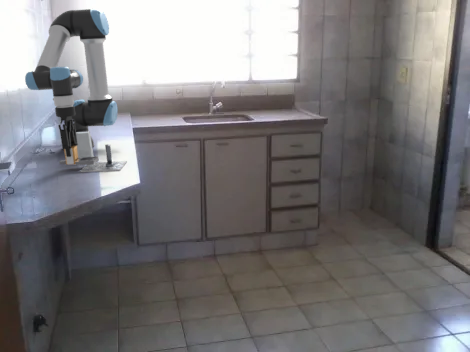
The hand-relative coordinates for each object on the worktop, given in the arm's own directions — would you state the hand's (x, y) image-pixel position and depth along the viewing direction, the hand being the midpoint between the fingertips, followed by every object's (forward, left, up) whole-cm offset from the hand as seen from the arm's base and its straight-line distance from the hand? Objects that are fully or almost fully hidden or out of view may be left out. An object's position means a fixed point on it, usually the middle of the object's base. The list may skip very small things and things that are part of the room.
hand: (72, 162), depth 204 cm
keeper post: (0, +13, -3) cm, 13 cm away
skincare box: (-17, 0, -3) cm, 17 cm away
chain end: (0, +2, 0) cm, 2 cm away
